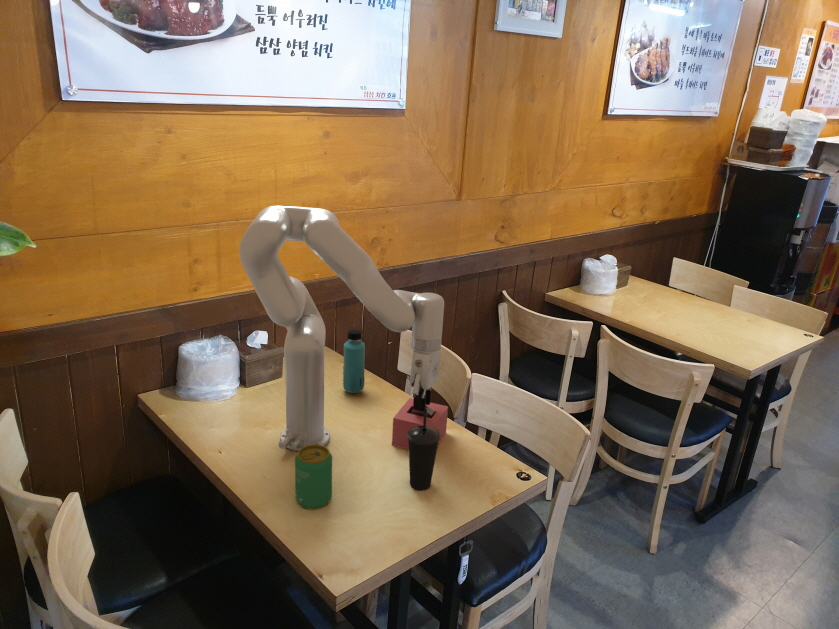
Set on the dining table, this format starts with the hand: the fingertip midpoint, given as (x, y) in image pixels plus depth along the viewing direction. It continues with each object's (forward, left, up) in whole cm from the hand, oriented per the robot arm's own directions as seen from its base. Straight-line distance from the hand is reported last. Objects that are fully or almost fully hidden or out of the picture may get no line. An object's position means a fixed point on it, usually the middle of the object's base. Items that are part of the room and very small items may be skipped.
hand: (421, 406), depth 162 cm
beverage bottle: (+16, +27, -10) cm, 33 cm away
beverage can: (-34, +13, -10) cm, 38 cm away
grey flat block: (0, -2, -4) cm, 4 cm away
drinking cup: (-19, -7, -10) cm, 23 cm away
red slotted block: (0, 0, -10) cm, 10 cm away
